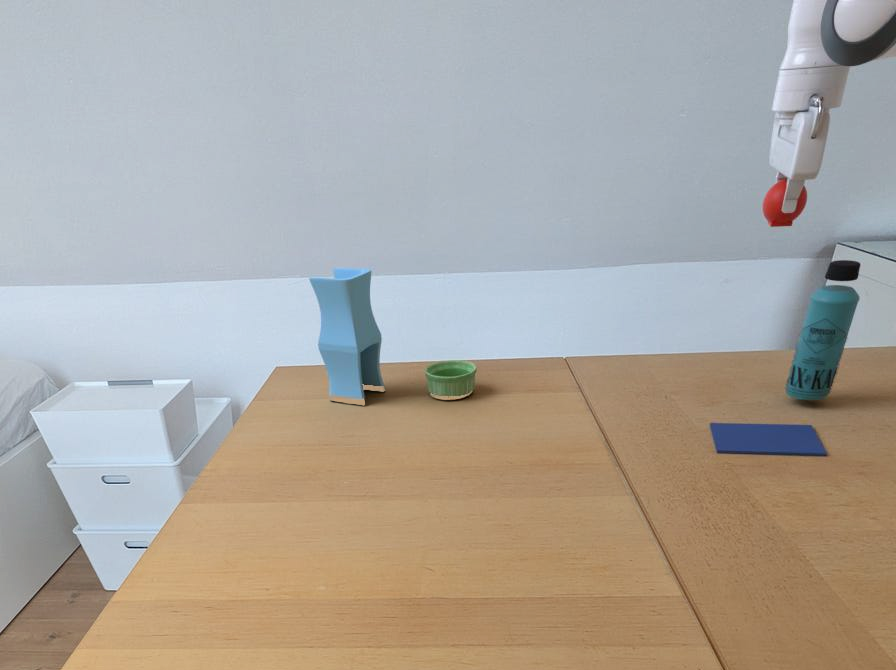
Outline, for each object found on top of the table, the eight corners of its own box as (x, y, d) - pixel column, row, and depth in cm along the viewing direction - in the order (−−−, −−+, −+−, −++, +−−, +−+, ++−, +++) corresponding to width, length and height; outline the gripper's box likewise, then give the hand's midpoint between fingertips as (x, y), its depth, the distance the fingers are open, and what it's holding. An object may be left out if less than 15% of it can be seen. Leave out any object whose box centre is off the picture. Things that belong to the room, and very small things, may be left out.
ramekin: (469, 382, 127) (468, 357, 125) (483, 398, 120) (482, 372, 118) (421, 388, 126) (419, 363, 124) (432, 405, 119) (431, 379, 117)
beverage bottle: (779, 394, 113) (815, 256, 101) (825, 396, 111) (867, 256, 99) (783, 409, 108) (821, 266, 96) (830, 411, 107) (876, 266, 94)
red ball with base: (797, 220, 109) (809, 168, 105) (804, 227, 105) (817, 173, 100) (755, 222, 111) (766, 171, 106) (761, 229, 106) (772, 175, 102)
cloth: (810, 427, 102) (811, 424, 102) (825, 456, 95) (826, 453, 95) (709, 425, 105) (710, 422, 105) (716, 453, 98) (717, 450, 98)
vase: (350, 386, 130) (335, 267, 117) (386, 391, 126) (375, 269, 114) (326, 401, 124) (308, 278, 112) (363, 406, 121) (349, 280, 109)
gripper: (851, 94, 89) (820, 218, 98) (818, 90, 105) (793, 198, 113) (797, 98, 91) (771, 220, 99) (772, 93, 106) (752, 200, 115)
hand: (783, 208), depth 106 cm, fingers closed on red ball with base, 6 cm apart
